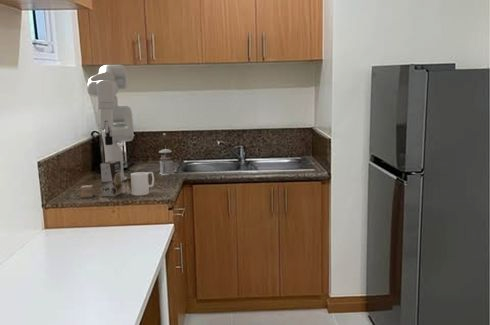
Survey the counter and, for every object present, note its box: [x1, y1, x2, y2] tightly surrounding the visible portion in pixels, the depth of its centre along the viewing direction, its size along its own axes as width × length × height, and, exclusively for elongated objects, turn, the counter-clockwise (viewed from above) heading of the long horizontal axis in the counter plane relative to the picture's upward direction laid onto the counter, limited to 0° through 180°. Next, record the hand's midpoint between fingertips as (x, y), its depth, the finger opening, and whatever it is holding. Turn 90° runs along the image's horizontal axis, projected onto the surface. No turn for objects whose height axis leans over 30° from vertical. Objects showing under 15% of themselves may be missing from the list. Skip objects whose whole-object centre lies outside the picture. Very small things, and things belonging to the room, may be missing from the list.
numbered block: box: [80, 184, 95, 199], centre depth 228 cm, size 5×5×5 cm
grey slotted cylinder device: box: [158, 132, 176, 176], centre depth 286 cm, size 10×12×25 cm
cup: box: [130, 171, 155, 196], centre depth 231 cm, size 8×12×10 cm
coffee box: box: [100, 161, 123, 197], centre depth 229 cm, size 9×6×16 cm
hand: (109, 144), depth 227 cm, fingers closed
